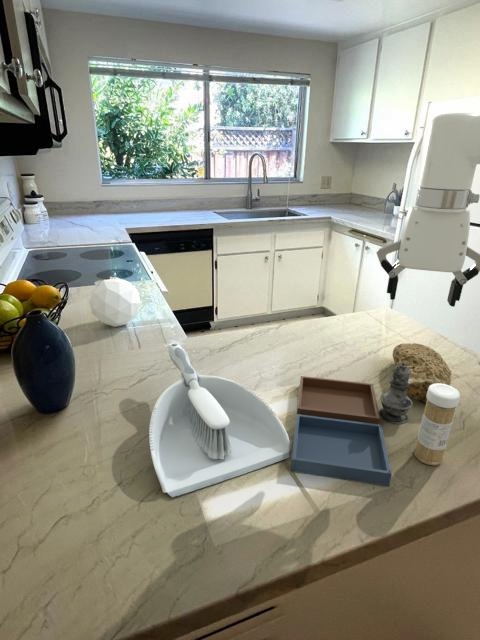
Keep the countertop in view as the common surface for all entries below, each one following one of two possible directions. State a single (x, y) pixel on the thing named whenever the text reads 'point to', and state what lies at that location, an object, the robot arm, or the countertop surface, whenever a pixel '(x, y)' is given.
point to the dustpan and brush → (210, 430)
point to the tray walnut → (338, 400)
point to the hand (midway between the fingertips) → (420, 300)
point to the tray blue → (340, 450)
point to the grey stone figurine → (396, 397)
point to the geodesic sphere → (114, 301)
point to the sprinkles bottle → (436, 423)
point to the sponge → (421, 368)
